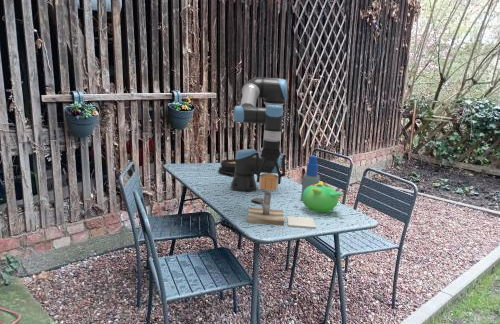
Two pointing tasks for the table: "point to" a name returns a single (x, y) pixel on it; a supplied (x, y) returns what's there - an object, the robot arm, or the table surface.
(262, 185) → the cap
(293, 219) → the pad
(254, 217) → the post base
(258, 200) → the weathered bronze handle
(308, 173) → the spray bottle
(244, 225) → the table surface
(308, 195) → the toy bird
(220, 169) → the casserole
